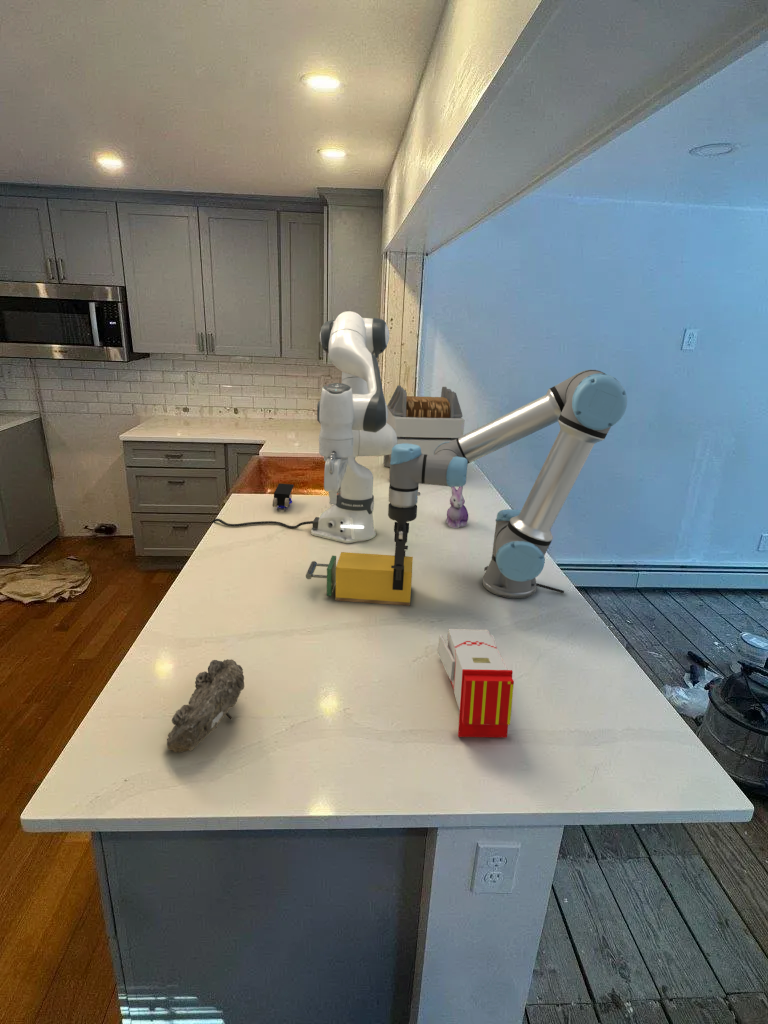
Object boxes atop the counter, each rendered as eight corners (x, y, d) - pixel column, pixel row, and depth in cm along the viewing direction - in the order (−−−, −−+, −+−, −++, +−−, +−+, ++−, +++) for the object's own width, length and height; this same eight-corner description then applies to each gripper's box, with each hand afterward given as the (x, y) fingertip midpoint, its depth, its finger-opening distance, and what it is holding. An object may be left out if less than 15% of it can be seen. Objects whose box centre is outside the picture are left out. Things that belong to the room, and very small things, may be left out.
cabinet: (335, 600, 153) (335, 567, 150) (340, 583, 162) (341, 551, 159) (409, 605, 152) (412, 572, 148) (410, 588, 161) (412, 556, 158)
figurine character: (289, 516, 215) (294, 499, 229) (289, 498, 212) (294, 482, 225) (272, 515, 215) (278, 499, 228) (271, 497, 212) (277, 481, 225)
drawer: (305, 594, 154) (305, 567, 151) (311, 579, 162) (311, 554, 159) (396, 600, 152) (397, 573, 150) (397, 585, 161) (399, 559, 158)
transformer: (382, 463, 289) (386, 382, 275) (445, 464, 293) (451, 384, 279) (390, 482, 257) (394, 392, 243) (460, 483, 261) (468, 394, 247)
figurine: (453, 530, 205) (457, 490, 200) (438, 521, 213) (441, 482, 208) (475, 527, 209) (479, 488, 204) (459, 517, 217) (462, 480, 212)
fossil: (192, 660, 117) (244, 628, 112) (224, 691, 120) (276, 661, 115) (142, 746, 98) (202, 712, 93) (182, 779, 101) (242, 748, 96)
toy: (488, 613, 130) (523, 677, 101) (484, 667, 133) (517, 744, 104) (435, 612, 130) (455, 676, 101) (432, 666, 133) (451, 743, 103)
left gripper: (343, 457, 138) (342, 511, 142) (351, 440, 157) (350, 488, 162) (318, 456, 138) (317, 510, 143) (329, 439, 157) (328, 486, 162)
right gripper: (416, 519, 137) (411, 601, 144) (417, 491, 158) (413, 563, 166) (385, 517, 137) (381, 599, 145) (391, 489, 158) (387, 562, 166)
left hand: (335, 498), depth 152 cm, fingers open, 8 cm apart
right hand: (398, 580), depth 155 cm, fingers closed on cabinet, 10 cm apart
